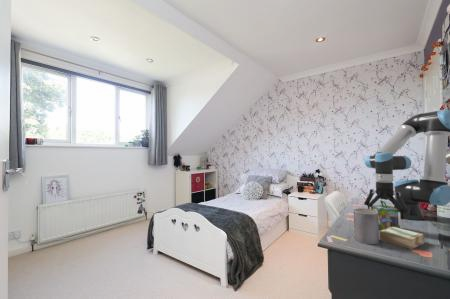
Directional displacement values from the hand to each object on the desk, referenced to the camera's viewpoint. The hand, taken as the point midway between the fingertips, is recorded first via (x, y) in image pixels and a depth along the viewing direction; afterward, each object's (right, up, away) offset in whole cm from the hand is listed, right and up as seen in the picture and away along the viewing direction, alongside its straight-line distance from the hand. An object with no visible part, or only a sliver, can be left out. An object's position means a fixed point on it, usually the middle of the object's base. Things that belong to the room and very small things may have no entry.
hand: (385, 221), depth 116 cm
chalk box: (0, -4, 0) cm, 4 cm away
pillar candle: (-20, -4, -15) cm, 25 cm away
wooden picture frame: (-5, -3, -16) cm, 17 cm away
